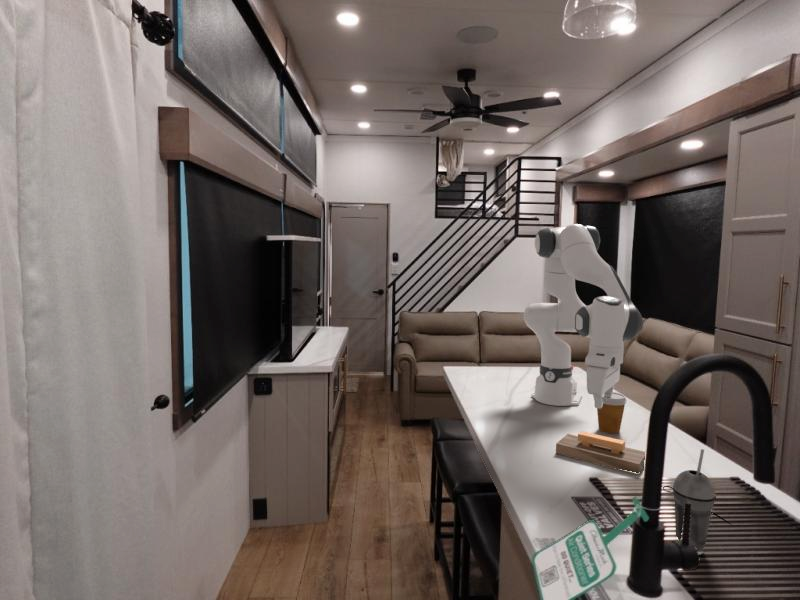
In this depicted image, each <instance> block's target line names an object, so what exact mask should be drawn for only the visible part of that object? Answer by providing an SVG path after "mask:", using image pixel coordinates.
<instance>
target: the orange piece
mask: <svg viewBox="0 0 800 600" xmlns="http://www.w3.org/2000/svg"><path fill="white" fill-rule="evenodd" d="M577 436H578V441H581V442H582V445H583V446H587V447H591V444H594V445H598V446H602V447H606V448H610V449H611V452H612V453H616V454H620V451H623V450H624V448H625V447H626V441H625V440H622V439H618V438H614V437H610V436H605V435H600V434H596V433H592V432H588V431H587V432H586V431H584V430H583V431H582V430H581V431H580V432H578V434H577Z"/></svg>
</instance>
